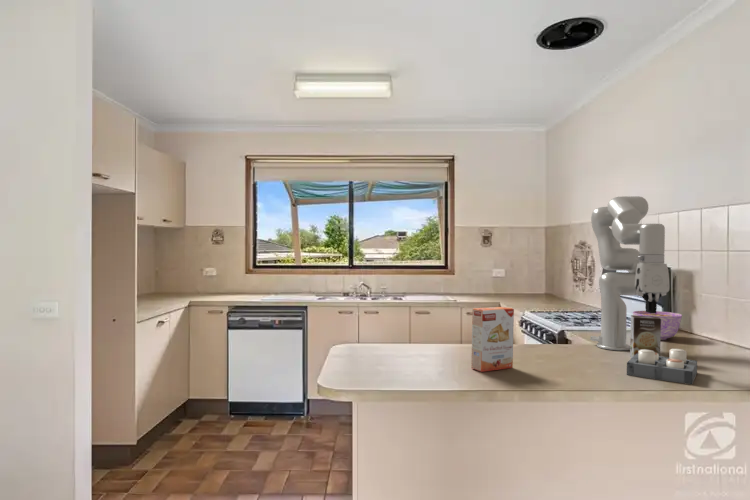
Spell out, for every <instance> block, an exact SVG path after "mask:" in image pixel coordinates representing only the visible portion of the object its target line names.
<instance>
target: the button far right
mask: <svg viewBox="0 0 750 500" xmlns="http://www.w3.org/2000/svg"><path fill="white" fill-rule="evenodd" d="M669 359H679V360H682V361H684V364H686V360H687V351H686V350H684V349H682V348H671V349H669Z"/></svg>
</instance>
